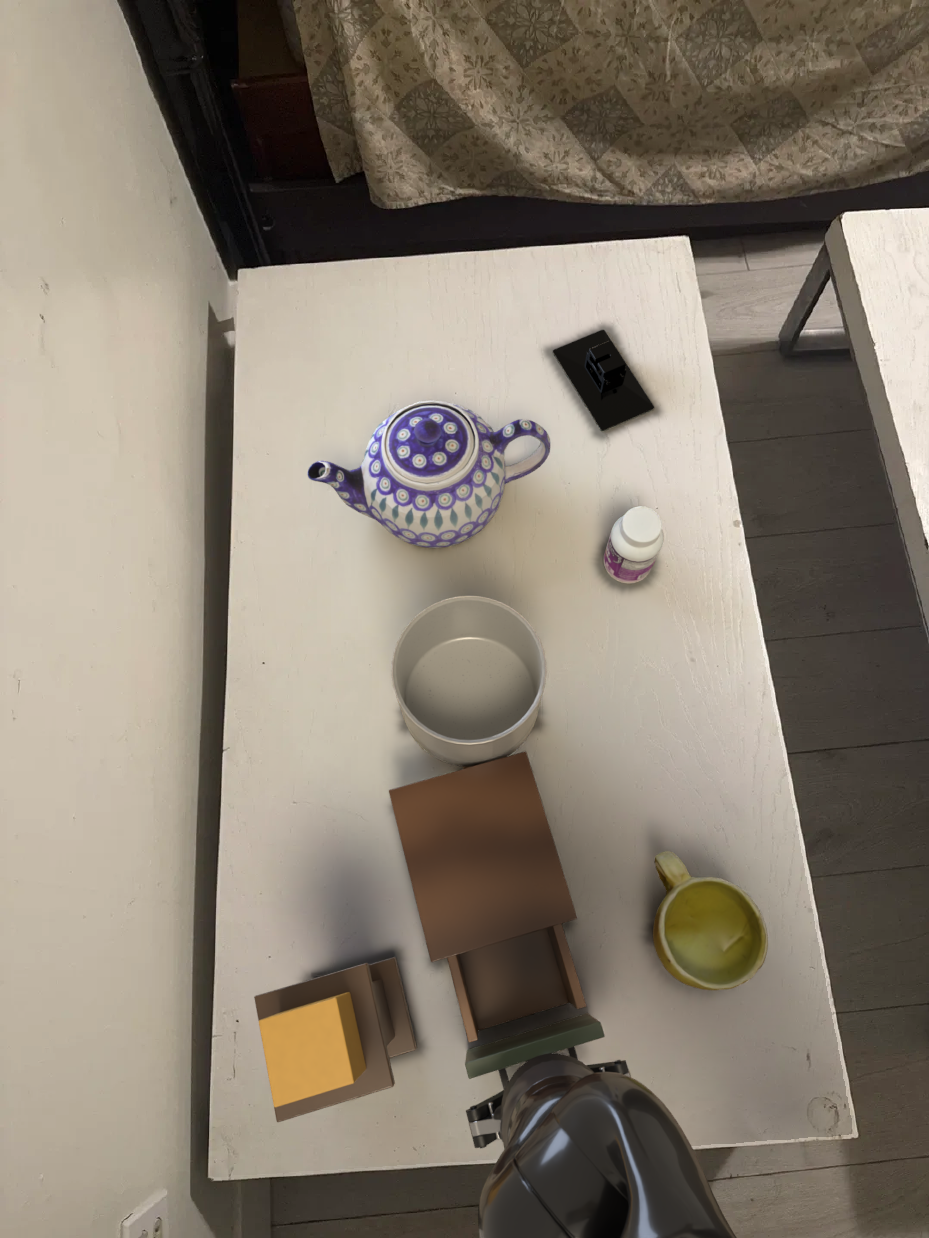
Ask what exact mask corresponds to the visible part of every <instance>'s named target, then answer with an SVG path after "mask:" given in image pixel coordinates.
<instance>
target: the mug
mask: <svg viewBox="0 0 929 1238" xmlns="http://www.w3.org/2000/svg"><path fill="white" fill-rule="evenodd" d="M654 865H655V870H656V872H657V876H658V878H659V880H660V882H661V883H662V885H663V887H664V890H665V897H664V898H663V899H662V900H661V902H660V904H659V906H658V908H657V910H656V913H655V916H654V921H653V927H652V928H653V929H652V941H653V946H654V950H655V953H656V956H657V958H658V959H659V961H660V963H661V964H662V966H663V967H664V969H665V970H666V971H667V972H668V974H670V975H671V976H672V977H673V978H674V979H676V980H677V981H678V982H680V983H681V984H684V985H686V986H688V987H692V988H694V989H699V990H703V991H721V990H722V991H723V990H726V991H727V990H732V989H735V988H737V987H739V986H741V985H744V984H745V983H747V982H748V981H749V980H751V979H752V978H753V977H754V976H755V975H756V974H757V973H758V972H759V970H760V969H761V968H762V967H763V965H764V964H765V961H766V957H767V954H768V948H769V937H768V930H767V929H768V928H767V925H766V922H765V919H764V917H763V914H762V912H761V910H760V909H759V907H758V905H757V904H756V903H755V901H754V900H753V898H752V897H751V896H750V895H749V894H748V893H747V892H746V891H745V890H743V888H741V887H740V886H738V885H736V884H735V883H733V882H731V881H729V880H726V879H723V878H721V877H714V876H702V877H694V876H691V874H690V873H689V871H688V869H687V867H686V865H685V863H684V862H683V861H682V859H681V858H680V857H679V856H677V854H676V853H674V852H673V851H671V850H670V851H669V850H667V851H662V852H660V853H658V854H656V855H655V856H654Z"/></svg>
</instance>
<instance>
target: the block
mask: <svg viewBox="0 0 929 1238" xmlns="http://www.w3.org/2000/svg"><path fill="white" fill-rule="evenodd" d="M258 1026H259V1032H260V1037H261V1042H262V1049H263V1054H264V1060H265V1065H266V1070H267V1076H268V1082H269V1087H270V1093H271V1098H272V1103H273V1104H272V1105H273V1108H274V1107H279V1106H282V1105H285V1104H288V1103H292V1102H295V1101H298V1100H301V1099H305V1098H308V1097H311V1096H314V1095H317V1094H321V1093H324V1092H327V1091H330V1090H334V1089H337V1088H340V1087H343V1086H347V1085H350V1084H353V1083H354V1082H355V1081H356V1080H357V1079H358V1078H359V1077H360V1076H361V1074H362V1073H363V1072H364V1071H365V1070H366V1064H365V1060H364V1055H363V1051H362V1046H361V1041H360V1037H359V1032H358V1027H357V1023H356V1018H355V1013H354V1009H353V1004H352V999H351V995H350V992H347V993H344V994H340V995H337V996H334V997H330V998H327V999H324V1000H320V1001H317V1002H314V1003H310V1004H307V1005H304V1006H300V1007H297V1008H294V1009H290V1010H287V1011H284V1012H280V1013H277V1014H275V1015H272V1016H269V1017H267V1018H264V1019H261V1020H259V1021H258Z"/></svg>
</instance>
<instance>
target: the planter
mask: <svg viewBox="0 0 929 1238" xmlns="http://www.w3.org/2000/svg"><path fill="white" fill-rule="evenodd" d="M545 653H546V652H545V648H544V646H543V643H542V641H541V639H540V636H539V635H538V633H537V631H536V629H534V627H533V626H532V625H531V623H530V622H529V621H528V620H527V618H525V617H524V616H523V615H522V614H521V613H520V612H518V611H517V610H515V609H514V608H513V607H511V606H509V605H508V604H505V603H504V602H501V601H499V600H496V599H494V598H492V597H491V598H490V597H485V596H480V595H458V596H452V597H449V598H444V599H442V600H440V601H437V602H434V603H433V604H431V605H429V606H428V607H425V608H424V609H422V610H421V611H420V612H419V613H418V614H416V615H415V616H414V617H413V619H411V620H410V621H409V622H408V624H407V625H406V627H404V629H403V631H402V632H401V633H400V636H399V637H398V639H397V641H396V644H395V647H394V650H393V653H392V657H391V659H392V660H391V670H390V672H391V673H390V676H391V682H392V687H393V691H394V694H395V697H396V700H397V704H398V706H399V708H400V712H401V714H402V717H403V721H404V722H405V723H404V724H405V725H406V728H407V729H408V732H409V733H410V735H411V736H412V738H413V739H414V741H415V742H416V743H417V744H418V745H419V746H420V748H422V749H423V750H424V751H425V752H427V753H428V754H429V755H430V756H432V757H434V758H436V759H437V760H438V761H441V762H444V763H446V764H449V765H453V766H459V767H462V769H465V768H468V767H472V766H475V765H479V764H483V763H486V762H490V761H493V760H497V759H500V758H504V757H507V756H511V755H513V753H514V752H515V751H517V750H518V749H519V748H520V747H521V746H522V745H523V744H524V742H525V741H526V740H527V739H528V737H529V736H530V734H531V733H532V731H533V729H534V726H535V725H536V722H537V718H538V715H539V711H540V708H541V707H540V706H541V703H542V700H543V694H544V692H545V691H544V690H545V687H546V684H547V683H546V682H547V671H548V670H547V669H548V667H547V659H546V654H545Z"/></svg>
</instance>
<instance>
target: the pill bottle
mask: <svg viewBox="0 0 929 1238" xmlns="http://www.w3.org/2000/svg"><path fill="white" fill-rule="evenodd" d="M664 538H665V535H664V531H663V520H662V517H661V516H660V514H659V513H658V512H657V511H655V509H653V508H651V507H648V506H645V505H638V506H634V507H632V508H629V509H628V510H627V511H626V512H625V513H624V514H623V515H621V516H620V517H619V518H618V519H617V520H616V521H615V522H614V524H613V525H612V528H611V531H610V534H609V537H608V541H607V544H606V548H605V550H604V555H603V566H604V569H605V571H606V573H608V575H609V576H610V577H611V578H612V579H613V580H615V581H616V582H619V583H622V584H635V583H638V582H641V581H643V580H644V579H645V578H646V577H648V575H649V574H650V572H651V571H652V568H653V567H654V564H655V562H656V560H657V559H658V556H659V555H660V551H661V550H662V549H663V548H662V547H663V545H664V540H665V539H664Z"/></svg>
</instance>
